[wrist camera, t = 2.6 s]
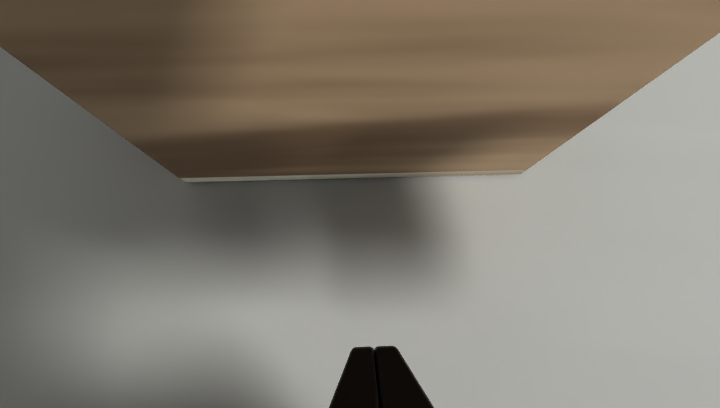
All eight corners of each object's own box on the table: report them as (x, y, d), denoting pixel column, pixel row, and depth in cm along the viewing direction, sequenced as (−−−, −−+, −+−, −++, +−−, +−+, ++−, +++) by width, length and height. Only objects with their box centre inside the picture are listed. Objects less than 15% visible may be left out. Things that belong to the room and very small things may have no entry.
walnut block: (520, 174, 18) (787, -16, 7) (185, 182, 17) (-73, -8, 7) (510, 71, 19) (738, -242, 8) (188, 76, 18) (-39, -249, 7)
